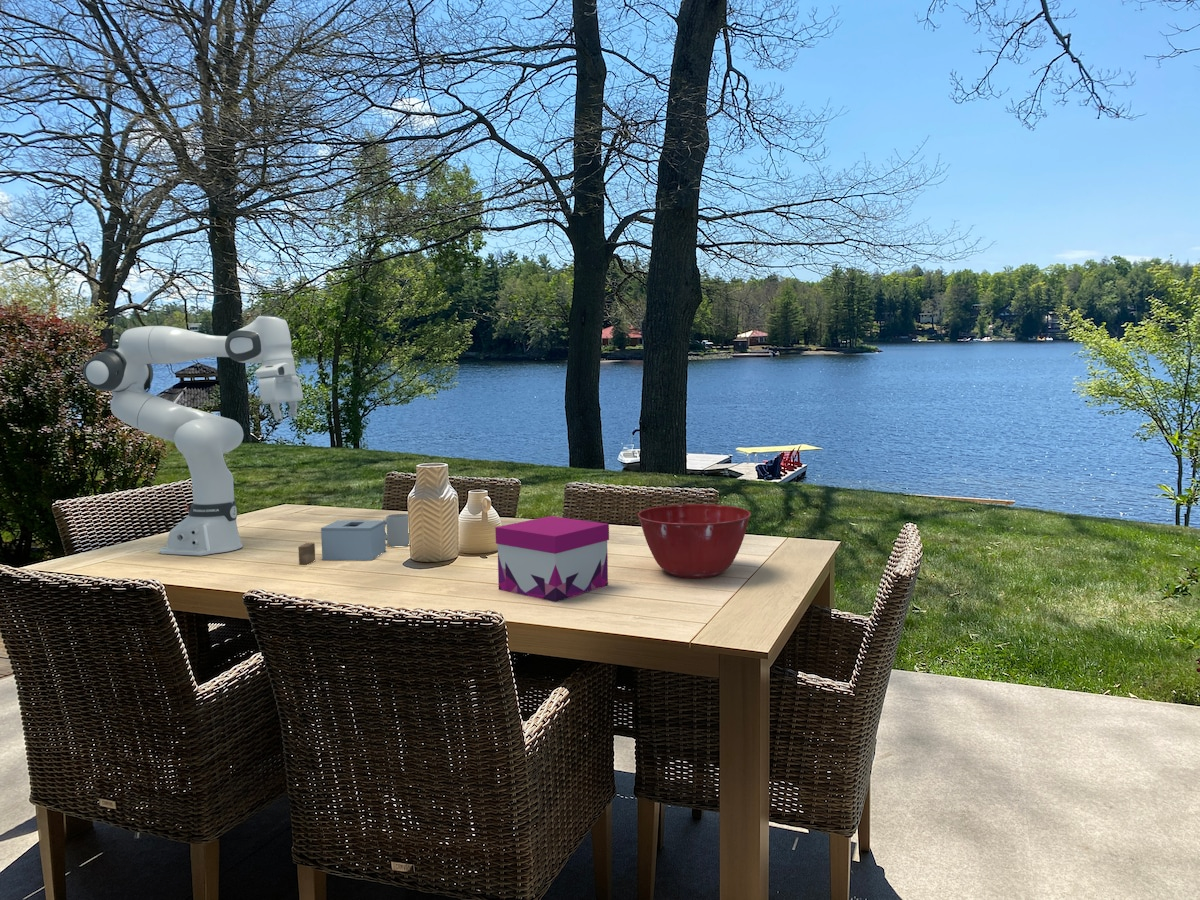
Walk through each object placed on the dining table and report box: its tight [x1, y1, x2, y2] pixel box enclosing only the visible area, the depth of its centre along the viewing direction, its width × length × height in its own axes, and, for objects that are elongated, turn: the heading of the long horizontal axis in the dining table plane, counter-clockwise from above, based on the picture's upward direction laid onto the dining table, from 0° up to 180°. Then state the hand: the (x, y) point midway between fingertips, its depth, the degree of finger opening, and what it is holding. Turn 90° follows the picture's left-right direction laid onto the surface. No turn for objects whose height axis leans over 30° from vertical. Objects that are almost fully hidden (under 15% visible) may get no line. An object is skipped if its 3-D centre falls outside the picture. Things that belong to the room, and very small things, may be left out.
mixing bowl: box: [637, 503, 752, 579], centre depth 212 cm, size 28×28×15 cm
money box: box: [320, 520, 387, 561], centre depth 237 cm, size 14×12×9 cm
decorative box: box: [495, 515, 610, 603], centre depth 199 cm, size 19×19×15 cm
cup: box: [382, 513, 409, 547], centre depth 252 cm, size 7×10×9 cm
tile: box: [297, 542, 316, 566], centre depth 229 cm, size 2×5×5 cm, turn 176°
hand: (286, 418), depth 244 cm, fingers open, 8 cm apart
